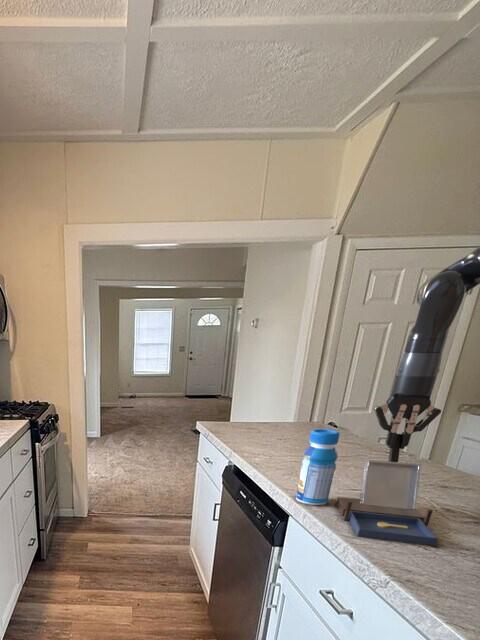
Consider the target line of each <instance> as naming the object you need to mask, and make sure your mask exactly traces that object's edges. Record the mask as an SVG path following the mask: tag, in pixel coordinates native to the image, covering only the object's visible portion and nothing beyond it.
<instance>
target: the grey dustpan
mask: <svg viewBox="0 0 480 640" xmlns="http://www.w3.org/2000/svg"><path fill="white" fill-rule="evenodd" d="M401 435H402V433H397V436H396V440H395V443H394V447H393V448H389V452H388V453H389V454H388V460H387V461H385V460H373V459H368V460H366V461H365V463H364V469H363V476H362V484H361V490H360V491H361V493H360V498H359V499H360V504H361V505H370V506H380V507H390V508H399V509H409V510H412V509H416V510H417V501H418V492H419V485H420V477H421V469H422V463H418V462H417V463H415V462H402V461H399V457H400V450H401V449H400V443H401Z"/></svg>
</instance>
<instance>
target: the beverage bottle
mask: <svg viewBox="0 0 480 640" xmlns="http://www.w3.org/2000/svg"><path fill="white" fill-rule="evenodd" d="M339 439H340V432H339V431H337V430H334V429H324V428H317V429H312V430H311V432H310V436H309V444H310V445H309V446H308V447H307V448H306V449H305V451H304V453H303V459H302V462H301V464H300V467H301V468H300V474H299V480H298V484H297V489H296V494H295V499H296V501H297V502H299V503H302V504H305V505H311V506H323V505H326V504H327V503H328V502H329V497H330V492H331V488H332V483H333V479H334V475H335V471H336V468H337V464H336V462H337V460H338V457H339V456H338V452H337V448H336V447H335V446H337V445H338V442H339Z"/></svg>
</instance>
